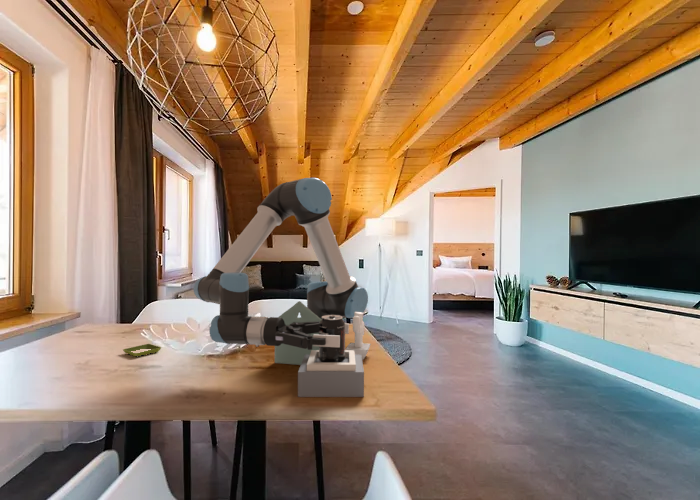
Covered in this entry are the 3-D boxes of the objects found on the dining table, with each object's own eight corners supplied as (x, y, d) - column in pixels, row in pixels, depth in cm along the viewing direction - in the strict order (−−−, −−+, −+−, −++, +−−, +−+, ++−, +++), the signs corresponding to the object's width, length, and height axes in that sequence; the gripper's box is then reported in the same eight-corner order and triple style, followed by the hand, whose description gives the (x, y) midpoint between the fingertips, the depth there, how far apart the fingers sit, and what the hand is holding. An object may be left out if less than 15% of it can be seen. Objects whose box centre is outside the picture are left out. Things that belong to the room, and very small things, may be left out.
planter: (330, 358, 111) (331, 298, 111) (324, 367, 103) (324, 302, 103) (284, 355, 114) (284, 297, 114) (274, 363, 106) (274, 300, 107)
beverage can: (344, 358, 93) (344, 314, 93) (345, 366, 86) (345, 319, 86) (319, 358, 92) (319, 314, 92) (318, 367, 85) (318, 319, 85)
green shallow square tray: (162, 353, 117) (162, 347, 117) (135, 360, 110) (135, 353, 110) (148, 349, 122) (148, 343, 122) (122, 355, 114) (122, 349, 114)
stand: (304, 375, 96) (304, 349, 96) (361, 375, 96) (361, 349, 96) (297, 396, 82) (298, 365, 82) (363, 396, 82) (364, 365, 82)
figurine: (371, 353, 117) (371, 310, 117) (366, 362, 108) (366, 315, 108) (351, 352, 118) (351, 309, 118) (344, 360, 109) (344, 314, 109)
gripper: (283, 333, 104) (351, 337, 101) (246, 359, 79) (334, 364, 76) (283, 309, 104) (351, 311, 101) (246, 327, 79) (334, 331, 76)
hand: (344, 334), depth 88 cm, fingers open, 13 cm apart
